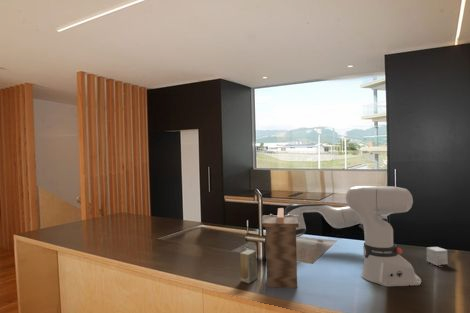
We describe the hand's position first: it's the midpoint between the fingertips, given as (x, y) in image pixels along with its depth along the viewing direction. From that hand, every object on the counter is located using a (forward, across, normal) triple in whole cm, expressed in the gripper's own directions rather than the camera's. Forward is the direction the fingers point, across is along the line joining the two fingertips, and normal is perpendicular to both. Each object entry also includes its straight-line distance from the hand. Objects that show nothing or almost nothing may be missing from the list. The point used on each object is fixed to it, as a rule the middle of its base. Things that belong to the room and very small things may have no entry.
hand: (280, 215), depth 161 cm
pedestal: (+16, 0, -34) cm, 38 cm away
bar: (+25, 0, -10) cm, 27 cm away
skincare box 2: (-8, -72, -21) cm, 76 cm away
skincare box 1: (+15, +14, -34) cm, 40 cm away
